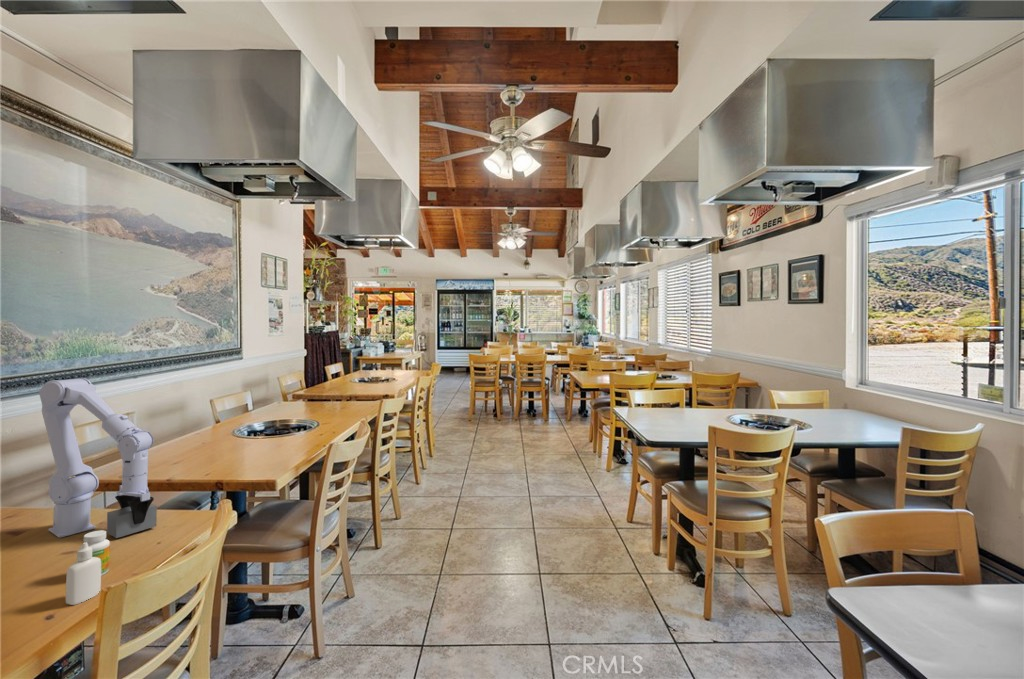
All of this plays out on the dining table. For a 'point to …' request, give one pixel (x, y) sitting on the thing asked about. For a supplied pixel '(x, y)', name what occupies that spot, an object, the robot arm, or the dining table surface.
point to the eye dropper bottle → (83, 577)
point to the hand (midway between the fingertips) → (133, 520)
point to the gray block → (129, 521)
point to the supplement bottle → (99, 548)
